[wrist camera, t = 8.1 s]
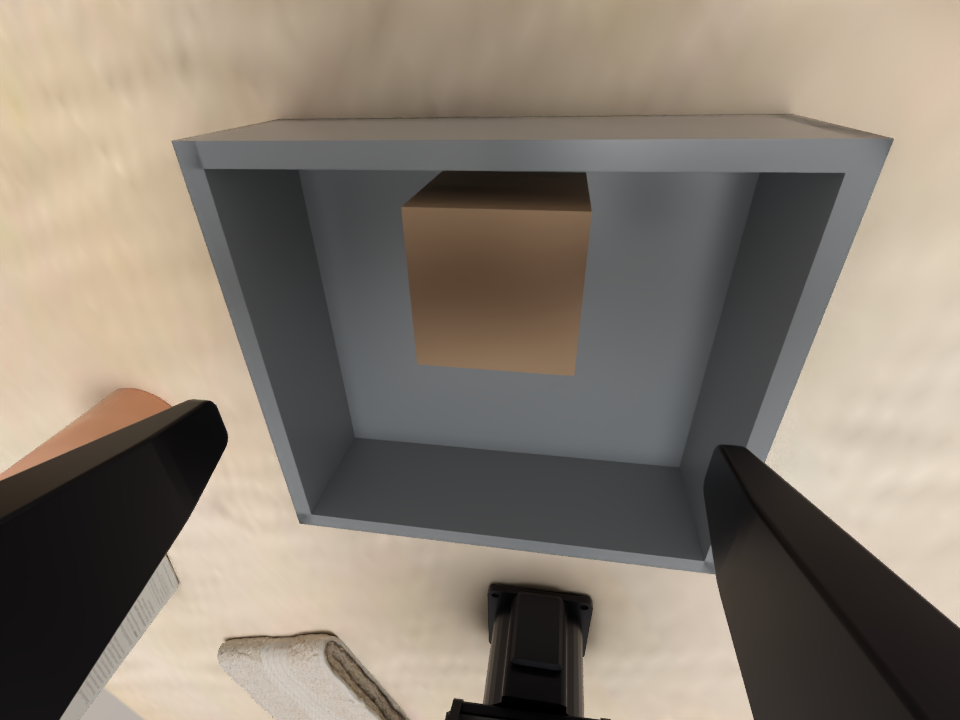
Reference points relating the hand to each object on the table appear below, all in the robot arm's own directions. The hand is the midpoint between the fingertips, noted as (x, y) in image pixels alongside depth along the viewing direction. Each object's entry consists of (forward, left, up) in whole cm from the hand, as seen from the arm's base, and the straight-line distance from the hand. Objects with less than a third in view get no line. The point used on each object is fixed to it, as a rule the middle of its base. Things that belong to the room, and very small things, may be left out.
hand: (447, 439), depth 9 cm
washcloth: (-42, +16, -13) cm, 46 cm away
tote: (-4, 0, -12) cm, 12 cm away
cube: (0, 0, -11) cm, 11 cm away
